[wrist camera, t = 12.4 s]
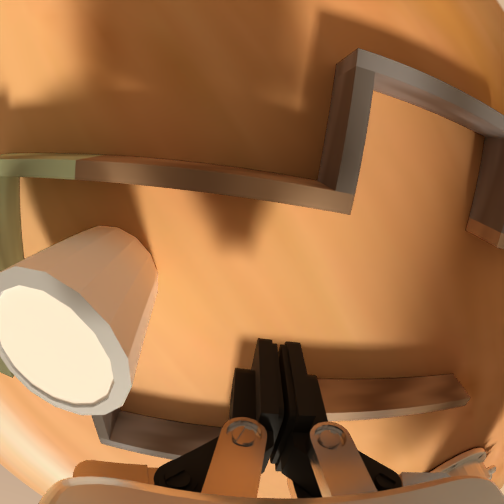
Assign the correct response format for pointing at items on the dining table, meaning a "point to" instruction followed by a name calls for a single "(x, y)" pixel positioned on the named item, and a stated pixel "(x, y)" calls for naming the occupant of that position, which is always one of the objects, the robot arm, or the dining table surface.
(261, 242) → the dining table surface
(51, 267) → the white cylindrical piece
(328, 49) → the dining table surface
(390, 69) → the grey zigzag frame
